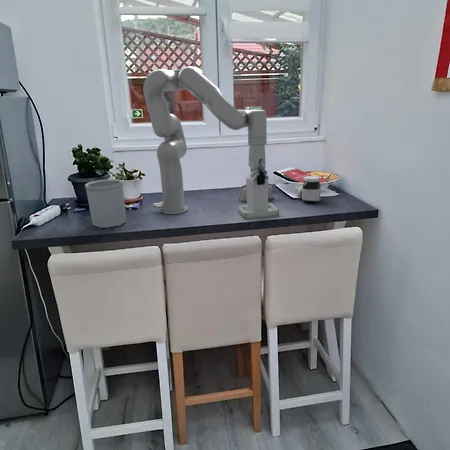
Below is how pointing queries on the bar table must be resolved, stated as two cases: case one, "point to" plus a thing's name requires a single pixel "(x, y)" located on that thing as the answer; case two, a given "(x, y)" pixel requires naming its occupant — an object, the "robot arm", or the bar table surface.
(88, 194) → the utensil holder
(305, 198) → the spread jar
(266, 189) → the milk carton
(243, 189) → the grey piece
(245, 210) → the tray
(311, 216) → the bar table surface
